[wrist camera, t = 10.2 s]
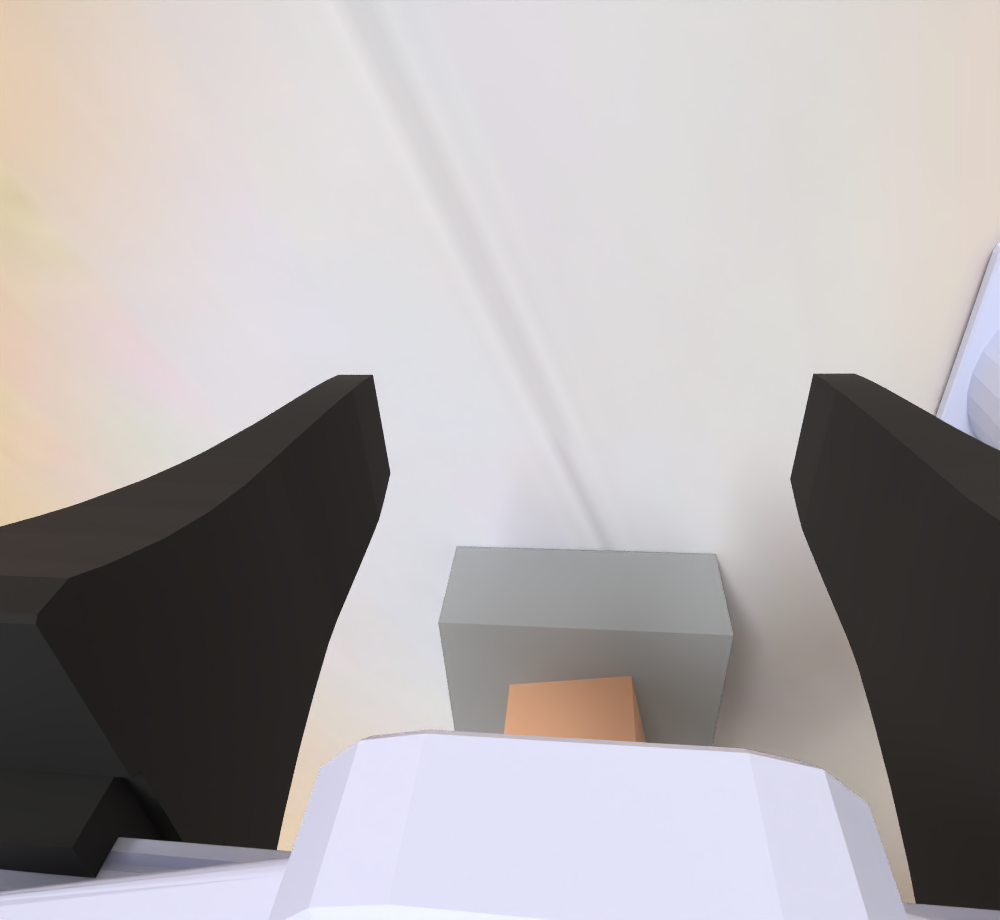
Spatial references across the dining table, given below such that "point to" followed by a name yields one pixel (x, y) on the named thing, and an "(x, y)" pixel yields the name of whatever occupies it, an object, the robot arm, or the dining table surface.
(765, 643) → the dining table surface
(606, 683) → the peach block
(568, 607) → the base block
